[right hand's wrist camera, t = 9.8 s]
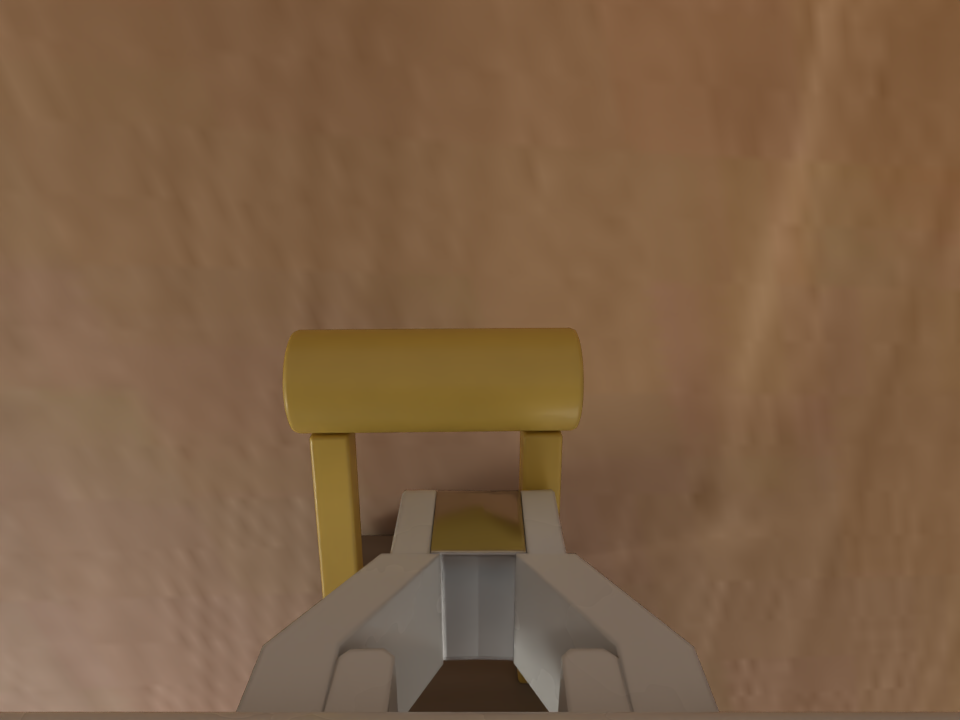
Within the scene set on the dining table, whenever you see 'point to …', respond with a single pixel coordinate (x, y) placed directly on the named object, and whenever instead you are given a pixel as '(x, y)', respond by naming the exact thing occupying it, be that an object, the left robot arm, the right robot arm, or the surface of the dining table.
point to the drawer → (429, 408)
